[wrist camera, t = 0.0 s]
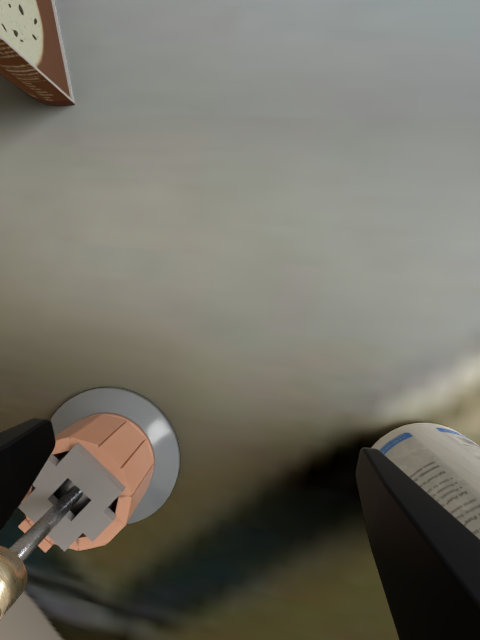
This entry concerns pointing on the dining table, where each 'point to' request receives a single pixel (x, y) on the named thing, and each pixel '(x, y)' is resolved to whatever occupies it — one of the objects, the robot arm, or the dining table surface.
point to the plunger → (35, 542)
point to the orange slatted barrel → (93, 480)
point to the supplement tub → (439, 466)
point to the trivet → (148, 420)
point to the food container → (34, 51)
